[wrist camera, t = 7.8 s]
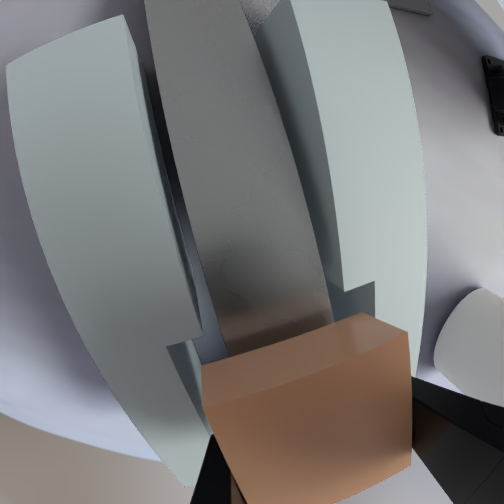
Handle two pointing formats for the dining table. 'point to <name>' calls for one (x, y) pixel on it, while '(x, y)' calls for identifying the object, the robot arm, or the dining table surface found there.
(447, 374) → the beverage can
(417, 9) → the pad
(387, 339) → the tile
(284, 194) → the lever
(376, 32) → the grey-green channel block
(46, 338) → the dining table surface
